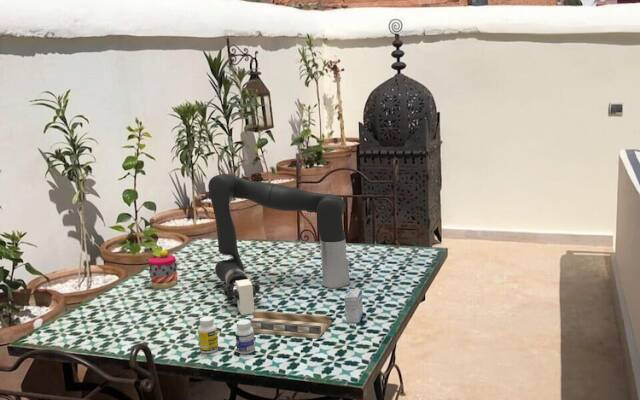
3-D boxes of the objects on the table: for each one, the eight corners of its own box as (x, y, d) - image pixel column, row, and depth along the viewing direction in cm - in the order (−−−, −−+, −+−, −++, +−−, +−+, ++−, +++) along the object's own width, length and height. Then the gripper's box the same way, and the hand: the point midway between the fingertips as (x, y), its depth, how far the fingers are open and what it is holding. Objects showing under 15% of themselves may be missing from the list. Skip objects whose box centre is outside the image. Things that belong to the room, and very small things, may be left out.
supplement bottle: (210, 355, 194) (207, 323, 192) (196, 352, 197) (192, 320, 195) (222, 348, 199) (219, 316, 197) (208, 345, 201) (205, 314, 200)
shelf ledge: (331, 323, 212) (331, 314, 212) (318, 338, 201) (317, 329, 201) (256, 317, 221) (256, 308, 221) (240, 331, 210) (239, 322, 210)
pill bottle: (237, 347, 198) (234, 319, 196) (255, 346, 199) (252, 317, 197) (236, 355, 193) (234, 326, 191) (255, 353, 193) (252, 324, 192)
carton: (251, 306, 231) (248, 278, 229) (254, 313, 225) (252, 284, 223) (238, 308, 230) (235, 280, 228) (241, 315, 224) (238, 286, 222)
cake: (183, 282, 264) (180, 244, 261) (167, 290, 255) (163, 252, 252) (162, 279, 268) (158, 243, 266) (145, 288, 259) (140, 250, 256)
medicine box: (359, 323, 211) (358, 296, 209) (345, 323, 212) (344, 296, 210) (363, 314, 219) (361, 288, 217) (349, 313, 219) (348, 288, 218)
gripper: (216, 274, 238) (223, 288, 222) (255, 268, 242) (266, 281, 226) (218, 294, 239) (225, 309, 223) (257, 288, 243) (267, 303, 227)
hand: (245, 295), depth 224 cm, fingers closed on carton, 4 cm apart
